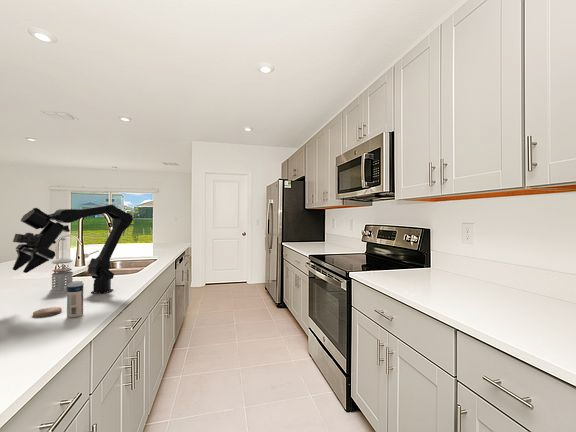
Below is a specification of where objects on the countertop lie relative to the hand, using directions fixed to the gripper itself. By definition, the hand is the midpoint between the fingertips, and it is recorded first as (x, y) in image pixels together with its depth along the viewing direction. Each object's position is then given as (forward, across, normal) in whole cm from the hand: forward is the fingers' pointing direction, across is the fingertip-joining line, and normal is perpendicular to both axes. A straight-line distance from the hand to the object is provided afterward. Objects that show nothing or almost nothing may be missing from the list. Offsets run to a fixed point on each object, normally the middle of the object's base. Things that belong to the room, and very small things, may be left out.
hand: (19, 271), depth 106 cm
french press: (0, -18, +27) cm, 32 cm away
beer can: (+8, +25, +14) cm, 30 cm away
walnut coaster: (+10, +13, +11) cm, 20 cm away
